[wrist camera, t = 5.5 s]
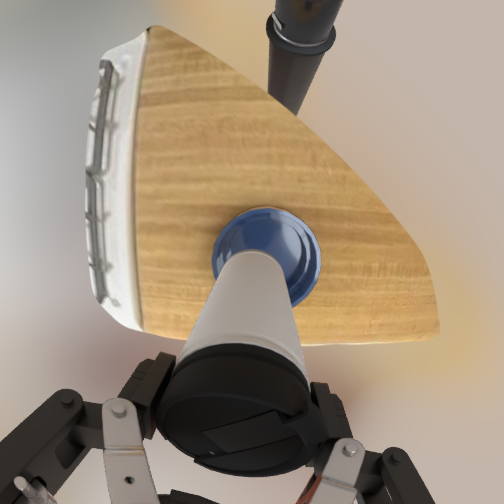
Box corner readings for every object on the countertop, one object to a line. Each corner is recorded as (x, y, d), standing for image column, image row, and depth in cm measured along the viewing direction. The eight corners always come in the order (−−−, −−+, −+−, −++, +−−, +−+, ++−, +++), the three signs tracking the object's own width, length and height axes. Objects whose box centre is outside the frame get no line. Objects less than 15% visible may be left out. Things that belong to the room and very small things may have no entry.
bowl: (229, 197, 40) (223, 198, 34) (322, 218, 40) (332, 222, 34) (212, 287, 43) (204, 301, 37) (299, 305, 43) (304, 322, 37)
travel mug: (298, 287, 27) (354, 460, 7) (242, 318, 28) (216, 497, 8) (265, 234, 26) (275, 363, 6) (208, 269, 27) (113, 422, 7)
